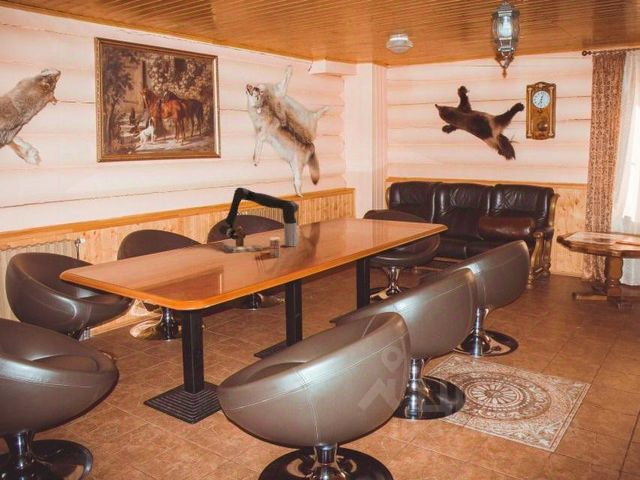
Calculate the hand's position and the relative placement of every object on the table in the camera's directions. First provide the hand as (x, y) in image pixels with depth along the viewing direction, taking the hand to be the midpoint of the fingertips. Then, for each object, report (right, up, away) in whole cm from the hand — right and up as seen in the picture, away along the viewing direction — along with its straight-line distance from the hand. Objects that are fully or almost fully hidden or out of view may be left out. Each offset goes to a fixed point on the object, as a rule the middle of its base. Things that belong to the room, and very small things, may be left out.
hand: (240, 237), depth 444 cm
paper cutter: (+1, -9, -1) cm, 9 cm away
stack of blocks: (+27, -13, -19) cm, 35 cm away
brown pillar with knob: (-1, -6, +4) cm, 8 cm away
